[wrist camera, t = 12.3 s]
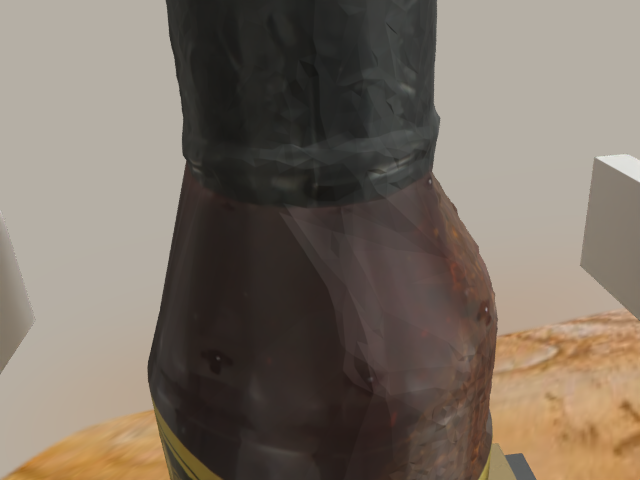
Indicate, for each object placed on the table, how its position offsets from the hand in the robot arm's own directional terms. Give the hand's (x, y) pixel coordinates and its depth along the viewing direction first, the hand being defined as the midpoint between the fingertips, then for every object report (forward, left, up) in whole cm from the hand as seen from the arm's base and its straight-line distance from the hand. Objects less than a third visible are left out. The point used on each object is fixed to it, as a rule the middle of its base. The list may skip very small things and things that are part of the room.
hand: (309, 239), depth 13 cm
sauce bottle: (0, +3, -13) cm, 13 cm away
